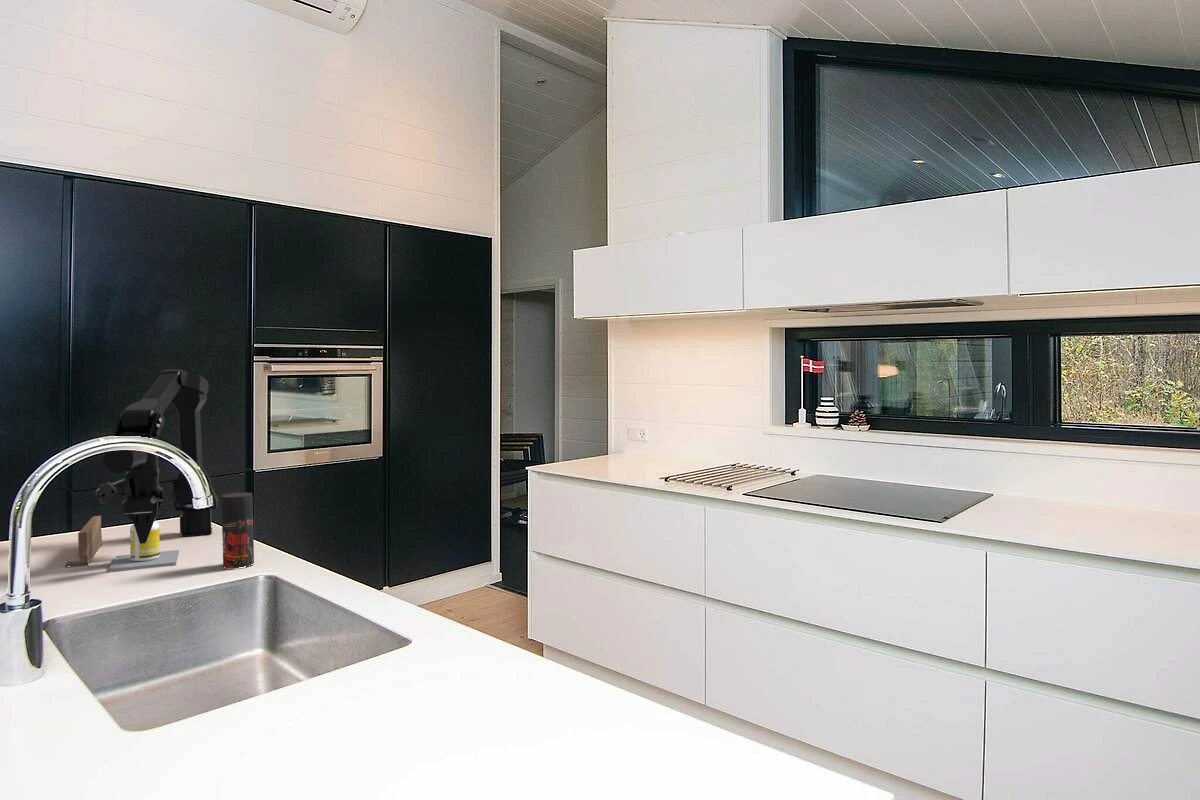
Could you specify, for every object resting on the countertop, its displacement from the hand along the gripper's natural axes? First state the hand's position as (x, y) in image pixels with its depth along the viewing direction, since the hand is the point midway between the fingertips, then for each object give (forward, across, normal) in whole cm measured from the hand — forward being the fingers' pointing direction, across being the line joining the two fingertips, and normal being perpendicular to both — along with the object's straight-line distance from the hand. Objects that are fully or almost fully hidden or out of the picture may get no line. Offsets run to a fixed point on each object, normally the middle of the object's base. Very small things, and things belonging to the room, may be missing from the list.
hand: (145, 538), depth 164 cm
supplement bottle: (+5, 0, 0) cm, 5 cm away
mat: (+5, 0, 0) cm, 5 cm away
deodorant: (+5, +12, +18) cm, 22 cm away
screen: (+5, -12, -13) cm, 18 cm away
